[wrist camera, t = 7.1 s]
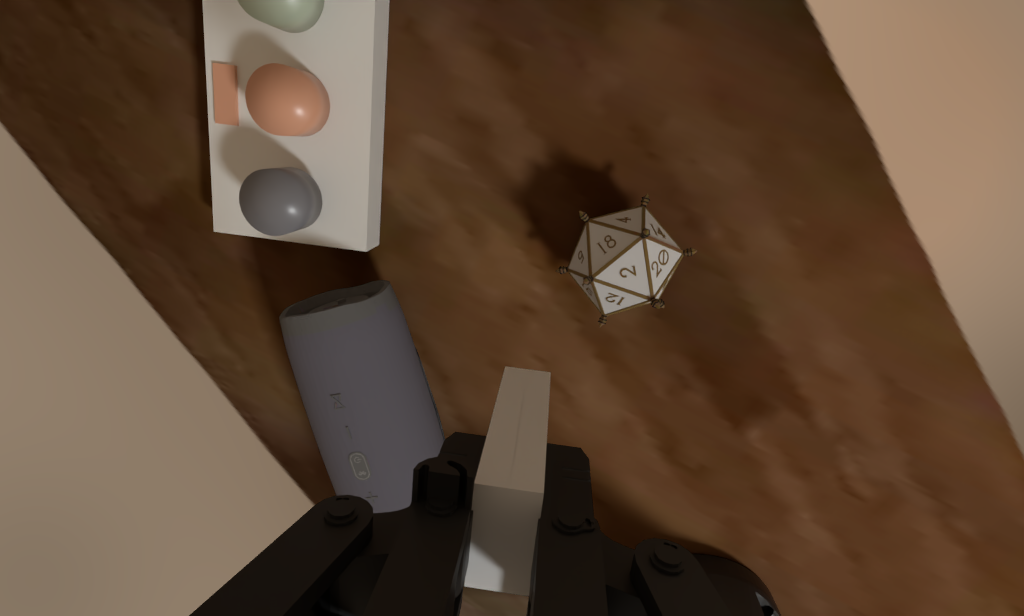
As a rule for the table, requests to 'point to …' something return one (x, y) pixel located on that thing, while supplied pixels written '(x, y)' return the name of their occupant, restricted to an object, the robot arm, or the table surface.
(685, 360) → the table surface
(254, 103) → the terracotta button
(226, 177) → the console
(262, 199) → the charcoal button
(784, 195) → the table surface
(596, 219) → the game die
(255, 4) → the sage button
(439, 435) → the bluetooth speaker
